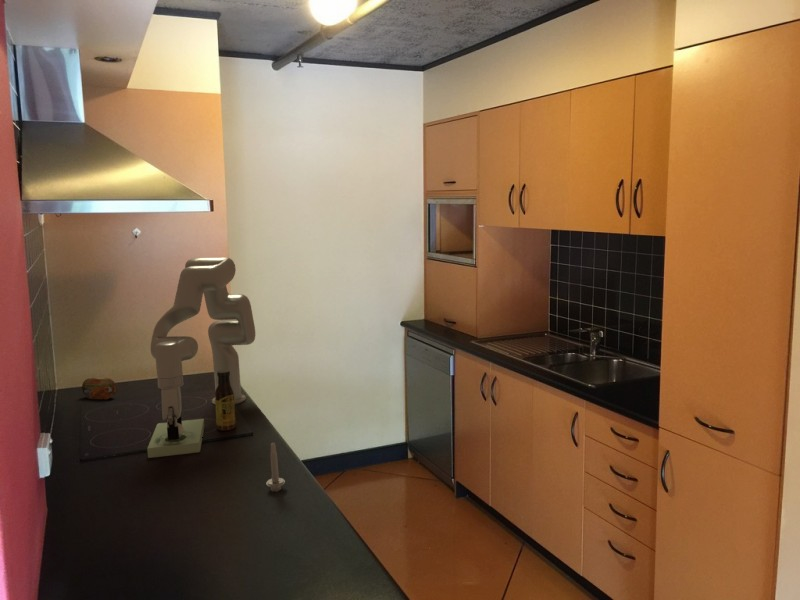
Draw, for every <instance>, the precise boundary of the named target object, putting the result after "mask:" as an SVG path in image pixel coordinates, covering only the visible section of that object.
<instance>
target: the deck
mask: <svg viewBox="0 0 800 600" xmlns="http://www.w3.org/2000/svg"><path fill="white" fill-rule="evenodd" d="M182 426H183V428H184V433H183V435H182V436H181V437H180V438H179V439H176V440H168V434H167V422H159V423H157V424H156V426H155V429H154V430H153V434H152V436H151V437H150V441H149V444H148V446H147V447H146V448H147V449H146V450H147V458H148V459H150V458H160V457H168V456H177V455H185V454H194V453H200V452H201V448H202V443H203V438H204V431H205V426H206V425H205V419H204V418H197V419H188V420H187V419H186V420H182ZM202 437H203V438H202Z"/></svg>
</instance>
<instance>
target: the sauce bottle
mask: <svg viewBox="0 0 800 600" xmlns="http://www.w3.org/2000/svg"><path fill="white" fill-rule="evenodd" d="M229 375H230V371H229V370H221V371H218V372H217V376H218V387H217V388H216V390H215V393H214V395H215V404H214V405H215V423H216V430H218V431H221V432H223V431H224V432H225V431H231V430H233V429H235V427H236V408H235V407H236V404H234V393H233V390H232V387H231V385H230V379H229Z"/></svg>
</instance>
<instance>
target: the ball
mask: <svg viewBox="0 0 800 600" xmlns="http://www.w3.org/2000/svg"><path fill="white" fill-rule="evenodd" d="M177 426H178V431H179V438H180V437H181V436H182V435H183V433H184V428H183V426H182V425H181V424H180V423H177Z"/></svg>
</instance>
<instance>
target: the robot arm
mask: <svg viewBox="0 0 800 600" xmlns="http://www.w3.org/2000/svg"><path fill="white" fill-rule="evenodd" d="M235 275H236V264H235V262H234V260H233V259H232V258H230V257H225V256H224V257H196V258H195V257H193V258H191V259H188V260H187V261H186V262H185V265H184V268H183V269H182V270H181V272H180V274H179V278H178V284H177V288H176V292H175V295H174V296H175V298H174V302H173V306H172V307H171V308H169V310H167V311H166V312H165V313H164V314H163V315H162V316H161V317H160V318H159V320H158V321H157V322H156V324H155V326H154V328H153V332H152V337H151V342H150V353H151V356H152V357H153V358H154V359H155V366H156V367H155V368H156V376H157V387H158V389H161V393H160V394H161V413H162V414H161V416H162V420H163V421H167V422H166V423H167V434H168V440H176V439H179V431H178V426H177V423H180V424H181V425H182V421H183V420H182V416H181V414H182V413H181V412H182V394H181V387H183V386H184V375H183V362H184V361H188V360H189V361H190V360H191V359H193V358H194V357H195V356H196V355H197V353H198V350H199V344H198V342H197V340H196V338H194V337H193V336H186V335H184V336H177V335H176V336H174V335H173V336H168V334H169V333H170V331H171V330H172V329H173V328H175V326H177V325H178V324H180V323H183V322H185V321H187V320H190V319H191V318H193V317H196V316H197V315H198V314H199V313H200V311H201V307H202V306H201V305H202V301H203V298H204V301H205V307H206V310H207V311H206V312H207V313H208V314H207V315H208V316H209V318H211V319H212V320H214V321H213V322H212V323H210V324H209V326H208V328H207V334H208V339H209V342H210V343H209V344H210V346H211V351H212V352H211V353H212V363H213V378H214V387H215V388H214V389H215V391H216V388H217V387H218V376H217V372H218V371H221V370H229V371H230V375H229V379H230V385H231V387H232V390H233V393H234V404H235V405H238V404H240V403H243V402H244V401H245V400H246V398H247V397H246V395H245V394H243V393H242V389H241V388H242V385H241V375H240V374H241V373H240V372H241V371H240V360H239V354H238V352H237V350H236V348H235V347H234V346H247V345H251V344H253V343H254V341H255V339H256V326H255V322H254V321H255V320H254V315H253V309H252V305H251V301H250V298H249V297H248V296H247V295H245V294H240V293H238V294H234V293H233V294H231V293H229V292H228V288H227V285H228V284H229V283H230V282H231V281H232V280H233V279H234V278H235ZM203 295H204V296H203ZM215 320H216V321H215ZM211 403H212V404H213V405H215V397H213V398H212V400H211Z"/></svg>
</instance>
